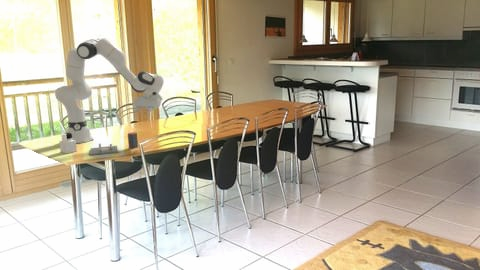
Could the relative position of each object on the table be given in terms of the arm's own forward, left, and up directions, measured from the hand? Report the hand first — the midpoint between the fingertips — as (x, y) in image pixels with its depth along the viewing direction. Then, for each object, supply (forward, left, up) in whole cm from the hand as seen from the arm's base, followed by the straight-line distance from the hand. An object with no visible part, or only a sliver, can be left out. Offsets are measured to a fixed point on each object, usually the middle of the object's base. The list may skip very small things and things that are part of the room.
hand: (141, 112), depth 277 cm
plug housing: (+7, -8, -21) cm, 23 cm away
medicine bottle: (+1, -47, -21) cm, 51 cm away
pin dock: (+9, -26, -21) cm, 34 cm away
